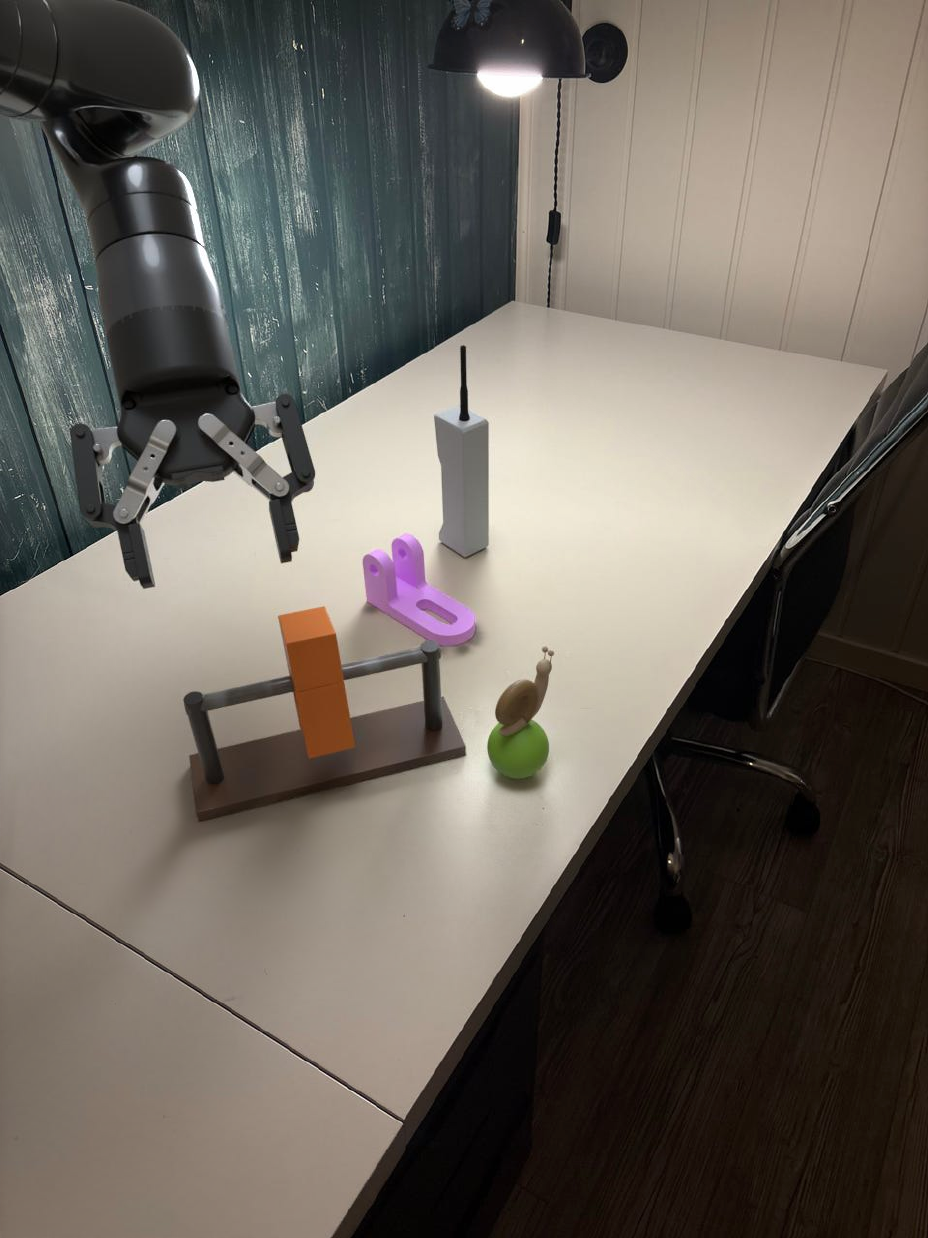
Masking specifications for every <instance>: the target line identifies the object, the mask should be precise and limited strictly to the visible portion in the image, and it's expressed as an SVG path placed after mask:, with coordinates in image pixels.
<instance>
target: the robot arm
mask: <svg viewBox="0 0 928 1238" xmlns="http://www.w3.org/2000/svg"><path fill="white" fill-rule="evenodd" d="M199 101H200V80H199V75H198V71H197V69H196V65H195V63H194V60H193V58H192V56H191V54H190V53H189V50H188V49H187V48H186V46H185V45H184V43H183V41H181V39H180V38H179V36H177V34H175V32H173V30H172V29H170V28H169V27H168V26H167V24H165V23H164V22H163V21H161V20H160V19H158V18H157V17H155V16H154V15H153V14H151V13H150V12H148V11H146V10H144V9H142V8H140V7H138V6H135V5H133V4H130V3H127V2H124V1H119V0H0V115H1V116H4V117H7V118H11V119H14V120H17V121H21V122H22V121H23V122H28V123H39V125H40V126H41V129H42V131H43V133H44V134H45V136H46V138H47V140H48V142H49V144H50V145H51V148H52V149H53V151H54V153H55V155H56V156H57V158H58V160H59V162H60V163H61V166H62V168H63V170H64V172H65V174H66V176H67V178H68V180H69V183H70V184H71V185H70V186H71V187H72V189H73V191H74V192H75V194H76V196H77V199H78V200H79V203H80V205H81V207H82V210H83V212H84V214H85V218H86V225H87V230H88V236H89V240H90V245H91V249H92V254H93V260H94V264H95V269H96V277H97V296H98V303H99V310H100V312H101V313H100V314H101V319H102V324H103V330H104V334H105V339H106V343H107V348H108V354H109V358H110V362H111V367H112V371H113V378H114V382H115V388H116V392H117V397H118V401H119V406H120V417H119V421H118V424H117V426H109V427H101V428H100V427H99V428H90V427H89V426H88V425H87V424H85V423H80V422H79V423H75V424H74V425H73V426H72V427H70V431H69V435H70V444H71V451H72V452H71V453H72V459H73V465H74V466H73V467H74V474H75V481H76V489H77V496H78V504H79V511H80V514H81V515H82V516H83V518H84V519H85V520H86V521H87V523H88V524H89V525H90V526H91V527H93V528H96V529H99V528H100V529H101V528H107V529H113V530H114V531H116V532H117V535H118V541H119V546H120V551H121V556H122V559H123V560H122V561H123V565H124V571H125V572H126V573H127V575H128V576H129V578H130V579H131V580H132V581H133V582H137V581H139V585H140V586H141V587H142V589H143V590H145V589H150V588H155V587H156V581H155V577H154V571H153V567H152V563H151V557H150V552H149V548H148V542H147V537H146V532H145V529H144V528H143V527H142V525H141V524H142V522H143V520H144V519H145V517H146V514H147V512H148V511H149V509H150V507H151V506H152V505H153V504H154V503H155V502H156V500H157V498H158V496H159V494H160V493H161V490H162V488H163V487H164V485H168V486H174V488H175V489H179V488H186V487H189V486H191V485H194V484H195V483H199V482H207V483H208V482H209V483H214V482H221V481H225V480H226V479H225V478H226V477H229V476H230V475H231V474H232V473H234V474H235V475H236V476H238V477H239V478H240V479H241V480H242V481H243V482H244V483H246V484H247V485H248V486H249V487H251V488H254V489H255V490H256V491H257V492H259V494H261V495H262V496H263V497H264V498H265V499H267V500H268V512H269V517H270V521H271V526H272V530H273V535H274V540H275V544H276V548H277V554H278V557H279V562H280V564H286V563H291V562H292V561H293V554H292V553H295V552H298V549H299V544H300V534H299V530H298V526H297V521H296V517H295V514H294V513H295V512H294V508H293V504H292V503H293V500H294V499H295V498H297V497H299V496H300V495H302V494H304V493H310V492H311V491H312V490H313V488H314V486H315V485H314V484H315V478H316V469H315V466H314V462H313V459H312V455H311V452H310V449H309V445H308V442H307V438H306V435H305V431H304V428H303V425H302V422H301V418H300V415H299V411H298V407H297V404H296V401H295V398H294V397H293V396H292V395H291V394H290V393H289V394H288V393H281V394H279V395H278V396H277V397H276V400H275V401H271V402H267V403H261V404H257V405H252V406H251V404H250V403H249V402H248V401H247V399H246V397H245V396H244V394H243V391H242V387H241V382H240V377H239V373H238V368H237V364H236V359H235V355H234V350H233V346H232V341H231V336H230V332H229V327H228V323H227V322H228V321H227V314H226V311H225V309H224V304H223V300H222V295H221V290H220V286H219V283H218V281H217V277H216V275H215V273H214V270H213V268H212V265H211V261H210V257H209V255H208V251H207V246H206V240H205V235H204V232H203V231H204V230H203V227H202V222H201V217H200V211H199V208H198V204H197V199H196V196H195V193H194V190H193V187H192V185H191V183H190V181H189V179H188V177H187V176H186V174H184V172H183V171H182V170H181V169H179V167H177V166H176V165H174V164H173V163H171V162H170V161H166V160H165V159H161V158H158V157H153V156H147V155H145V156H143V155H138V154H140V153H141V152H144V151H146V150H147V149H150V148H151V147H153V146H154V145H156V144H158V143H159V142H161V141H163V140H164V139H166V138H168V137H170V136H172V135H173V134H175V133H176V132H178V131H180V130H182V129H183V127H185V126H186V125H187V124H188V123H189V122H190V121H191V119H192V118H193V117H194V115H195V113H196V111H197V109H198V105H199ZM256 425H261V426H263V427H265V429H267V432H268V433H269V435H270V436H272V437H274V438H281V440H282V445H283V447H284V451H285V454H286V458H287V461H288V464H289V467H290V472H289V473H288V474H285V475H284V476H282V475H281V474H279V473H278V472H277V471H276V470H275V469H274V468H272V467H271V466H270V465H268V463H266V461H265V460H264V458H263V457H262V456H261V454H258V453H257V452H256V450H254V449H253V448H252V447H251V446H250V445H248V444H249V442H250V439H251V437H252V436H253V433H254V431H255V429H256ZM120 446H122V448H123V449H124V451H126V452H127V453H128V454H129V455H130V456H132V458H134V460H136V461H137V462H136V464H135V466H134V468H133V470H132V471H131V473H130V475H129V477H128V480H127V483H126V484H127V485H126V487H125V489H124V491H123V492H122V495H121V497H120V498H119V500H118V502H117V503H116V504H114V503H107V499H106V491H105V484H104V477H103V470H102V468H103V467H102V466H105V465H107V464H108V463H110V462H111V460H112V454H113V451H114V450H115V448H117V447H120Z"/></svg>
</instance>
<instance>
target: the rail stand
mask: <svg viewBox="0 0 928 1238" xmlns="http://www.w3.org/2000/svg"><path fill="white" fill-rule="evenodd" d="M441 659H442V652H441V648H440V645H438V643H437V642H435V641H431V640H425V641H423V642H422V643H421V644H420V646H418V647H414V648H409V649H405V650H401V651H396V652H391V653H387V654H382V655H378V656H377V655H376V656H373V657H368V658H363V659H359V660H354V661H349V662H345V663H341V666H342V672H343V678H344V681H349V680H352V679H357V678H362V677H367V676H371V675H375V674H381V673H384V672H389V671H393V670H399V669H402V668H406V667H411V666H415V665H420V664H421V678H422V681H421V682H422V694H423V700H422V701H421V700H420V701H416V702H412V703H409V704H405V705H399V706H396V707H392V708H387V709H383V710H378V711H374V712H370V713H364V714H361V715H357V716H352V717H350V720H351V726H352V732H353V738H354V744H355V748H351V749H347V750H343V751H339V752H335V753H330V754H326V755H322V756H318V757H314V758H310V759H309V758H308V755H307V751H306V746H305V741H304V735H303V731H301V729H300V728H299V729H295V730H292V731H287V732H284V733H279V734H275V735H270V736H265V737H261V738H257V739H253V740H249V741H244V742H240V743H237V744H232V745H228V746H227V745H226V746H223V747H218V745H217V741H216V737H215V734H214V730H213V727H212V722H211V719H210V715H209V712H208V711H213V710H217V709H222V708H227V707H231V706H236V705H240V704H245V703H249V702H253V701H258V700H262V699H267V698H271V697H275V696H276V697H277V696H281V695H286V694H289V693H293V692H295V689H294V685H293V681H292V678H291V675H286V676H281V677H277V678H273V679H272V678H271V679H266V680H262V681H259V682H258V681H257V682H254V683H248V684H243V685H239V686H235V687H231V688H226V689H221V690H217V691H214V692H213V691H212V692H208V693H202V692H200V691H199V690H198V691H197V690H196V691H190V692H187V694H185V695H184V696H183V699H182V700H183V706H184V711H185V714H186V715H187V718H188V721H189V725H190V729H191V732H192V736H193V739H194V743H195V747H196V748H197V749H196V750H197V753H193V754H189V756H188V757H189V767H190V776H191V783H192V793H193V801H194V810H195V815H196V819H197V821H198V822H202V821H206V820H210V819H214V818H219V817H222V816H223V817H224V816H227V815H231V814H234V813H239V812H242V811H246V810H247V811H248V810H252V809H255V808H259V807H262V806H263V807H264V806H266V805H271V804H275V803H278V802H282V801H286V800H291V799H295V798H299V797H303V796H307V795H310V794H311V795H312V794H315V793H319V792H323V791H328V790H330V789H331V790H332V789H334V788H339V787H343V786H348V785H351V784H354V783H359V782H364V781H368V780H371V779H375V778H379V777H383V776H388V775H392V774H395V773H399V772H403V771H407V770H411V769H415V768H419V767H424V766H426V765H431V764H435V763H439V762H443V761H447V760H451V759H455V758H460V757H463V756H464V757H465V756H466V755H467V748H466V747H467V746H466V743H465V742H464V739H463V736H462V735H461V732H460V730H459V727H458V726H457V724H456V721H455V719H454V716H453V714H452V712H451V710H450V707H449V705H448V703H447V701H446V698H445V696H442V684H441V661H440V660H441Z"/></svg>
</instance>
